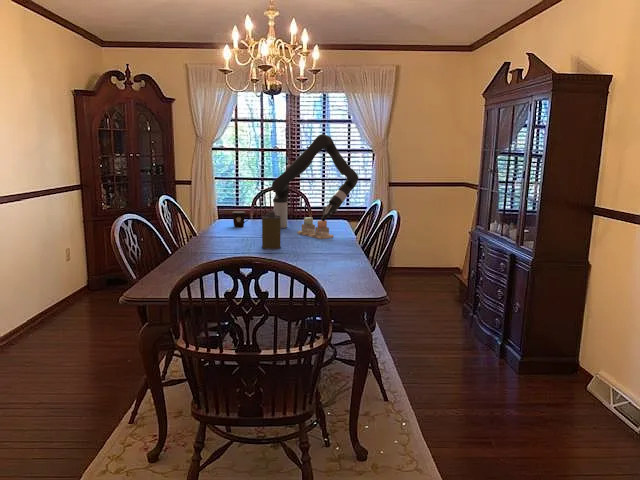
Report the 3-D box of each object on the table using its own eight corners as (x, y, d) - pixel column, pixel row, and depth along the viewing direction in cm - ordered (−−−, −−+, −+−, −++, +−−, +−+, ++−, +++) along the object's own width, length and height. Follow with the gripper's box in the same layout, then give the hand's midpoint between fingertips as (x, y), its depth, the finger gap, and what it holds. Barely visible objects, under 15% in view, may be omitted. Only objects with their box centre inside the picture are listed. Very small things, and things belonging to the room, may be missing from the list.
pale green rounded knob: (302, 228, 332) (302, 217, 331) (309, 227, 335) (309, 217, 334) (307, 229, 328) (307, 218, 326) (314, 228, 331) (314, 218, 330)
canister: (283, 248, 285) (283, 212, 281) (264, 250, 281) (264, 213, 277) (277, 245, 294) (277, 210, 291) (259, 246, 291) (259, 210, 287)
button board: (297, 233, 333) (297, 224, 332) (309, 231, 339) (309, 222, 338) (320, 239, 314) (320, 229, 313) (333, 237, 321) (333, 227, 320)
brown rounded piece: (315, 231, 321) (315, 220, 320) (322, 230, 325) (322, 220, 323) (321, 232, 317) (321, 221, 316) (328, 232, 320) (328, 221, 319)
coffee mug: (230, 227, 353) (230, 212, 351) (235, 225, 361) (235, 211, 359) (246, 228, 350) (245, 213, 348) (251, 226, 358) (251, 211, 356)
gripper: (327, 194, 328) (312, 214, 322) (341, 195, 318) (325, 217, 312) (334, 202, 332) (318, 222, 327) (348, 204, 322) (332, 225, 316)
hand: (322, 220), depth 319 cm, fingers closed
